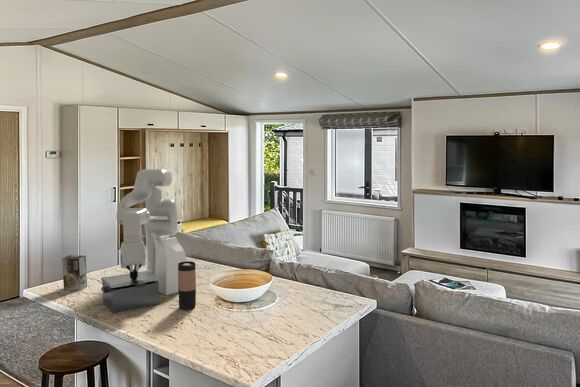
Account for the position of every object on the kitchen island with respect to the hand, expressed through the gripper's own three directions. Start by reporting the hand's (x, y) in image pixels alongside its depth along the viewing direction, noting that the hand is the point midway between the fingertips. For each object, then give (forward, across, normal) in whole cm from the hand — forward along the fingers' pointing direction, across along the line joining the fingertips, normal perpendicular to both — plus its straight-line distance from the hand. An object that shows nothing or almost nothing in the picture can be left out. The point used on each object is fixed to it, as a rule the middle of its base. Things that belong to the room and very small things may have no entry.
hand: (133, 279), depth 198 cm
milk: (+13, -22, -14) cm, 29 cm away
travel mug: (+13, -19, +14) cm, 27 cm away
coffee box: (+13, +17, -42) cm, 47 cm away
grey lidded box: (+12, 0, -6) cm, 14 cm away
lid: (+2, 0, -2) cm, 3 cm away
